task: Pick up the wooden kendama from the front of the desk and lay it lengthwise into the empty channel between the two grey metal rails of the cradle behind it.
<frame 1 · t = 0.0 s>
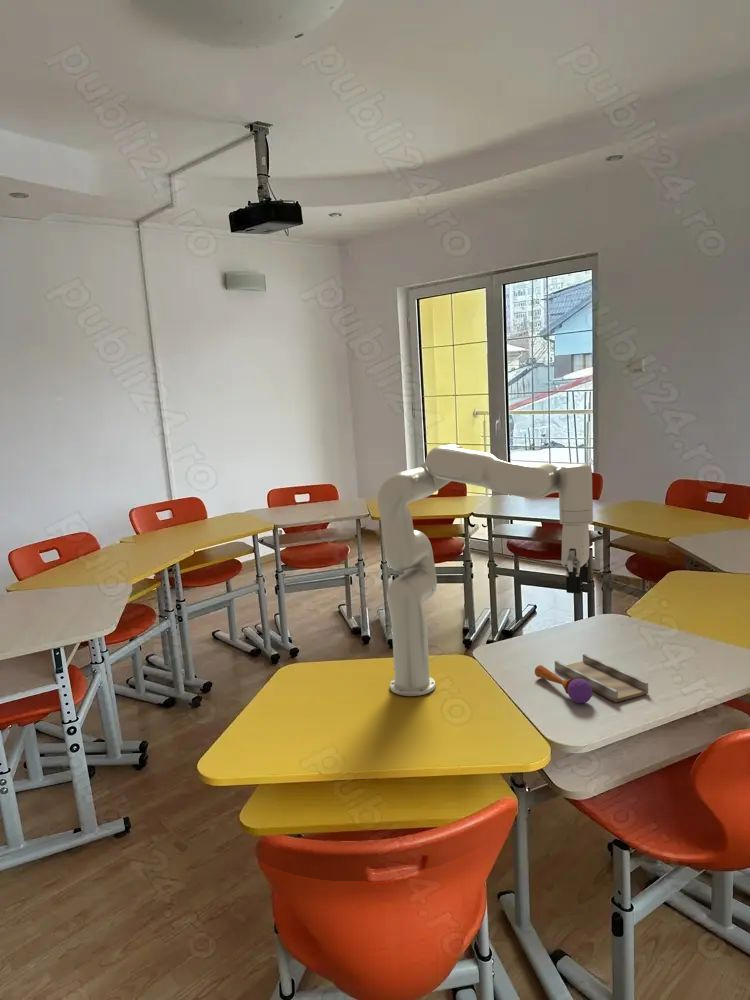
hand: (577, 587, 159), 31 cm above the table, tool pointing down, fingers open, 9 cm apart
kendama: (562, 691, 175), on the table
rail cradle: (599, 681, 179), on the table
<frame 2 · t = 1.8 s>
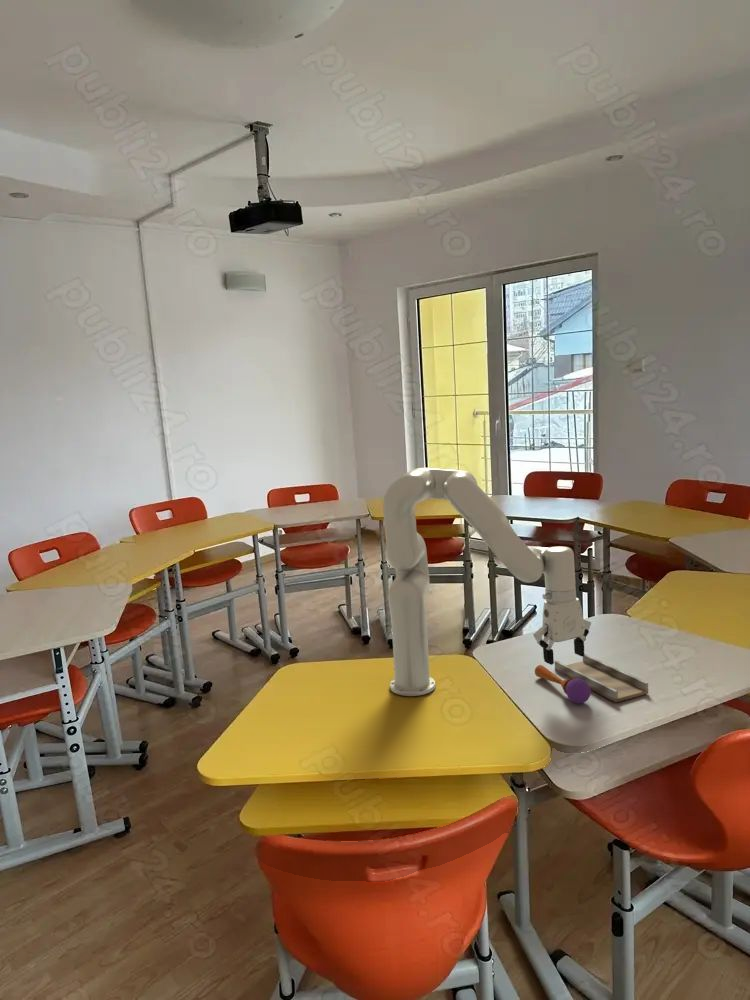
hand: (564, 658, 173), 9 cm above the table, tool pointing down, fingers open, 9 cm apart
nothing on the table moved.
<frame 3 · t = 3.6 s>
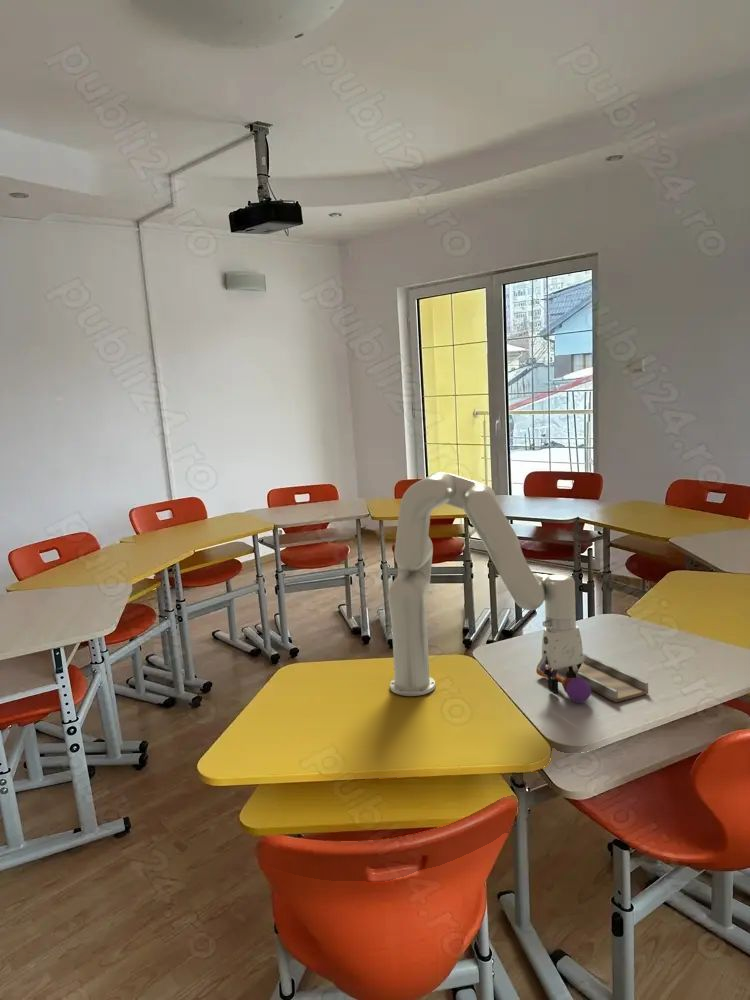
hand: (562, 689, 175), 1 cm above the table, tool pointing down, fingers closed on kendama, 5 cm apart
kendama: (562, 690, 175), on the table, touching gripper
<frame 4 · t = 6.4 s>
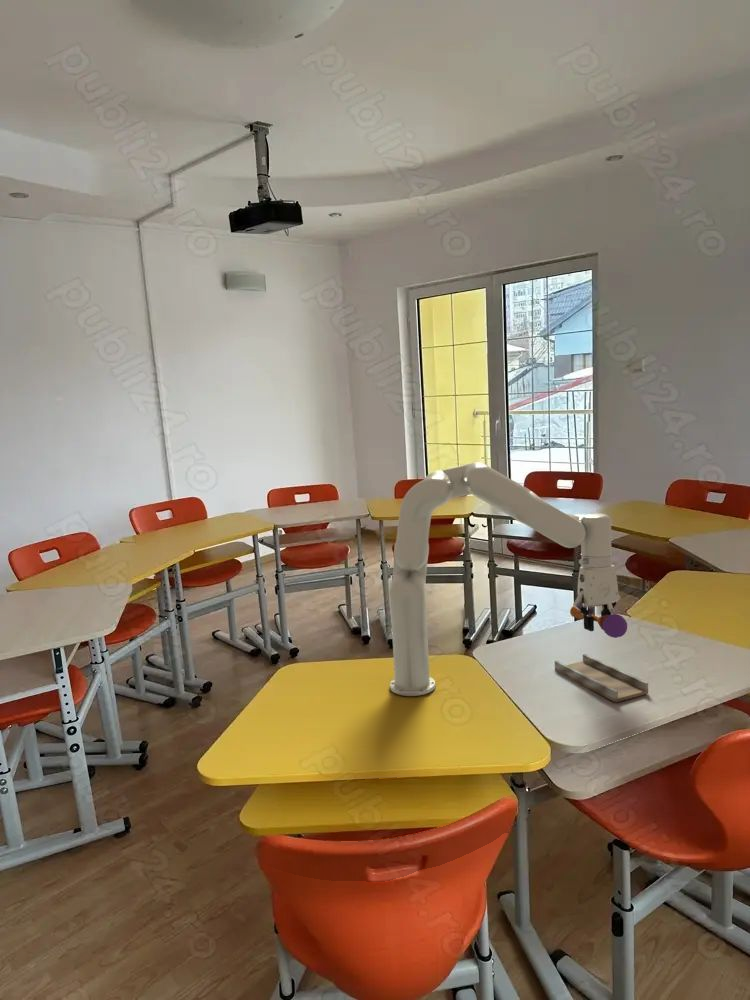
hand: (597, 627, 177), 15 cm above the table, tool pointing down, fingers closed on kendama, 5 cm apart
kendama: (597, 628, 178), point 15 cm above the table, touching gripper
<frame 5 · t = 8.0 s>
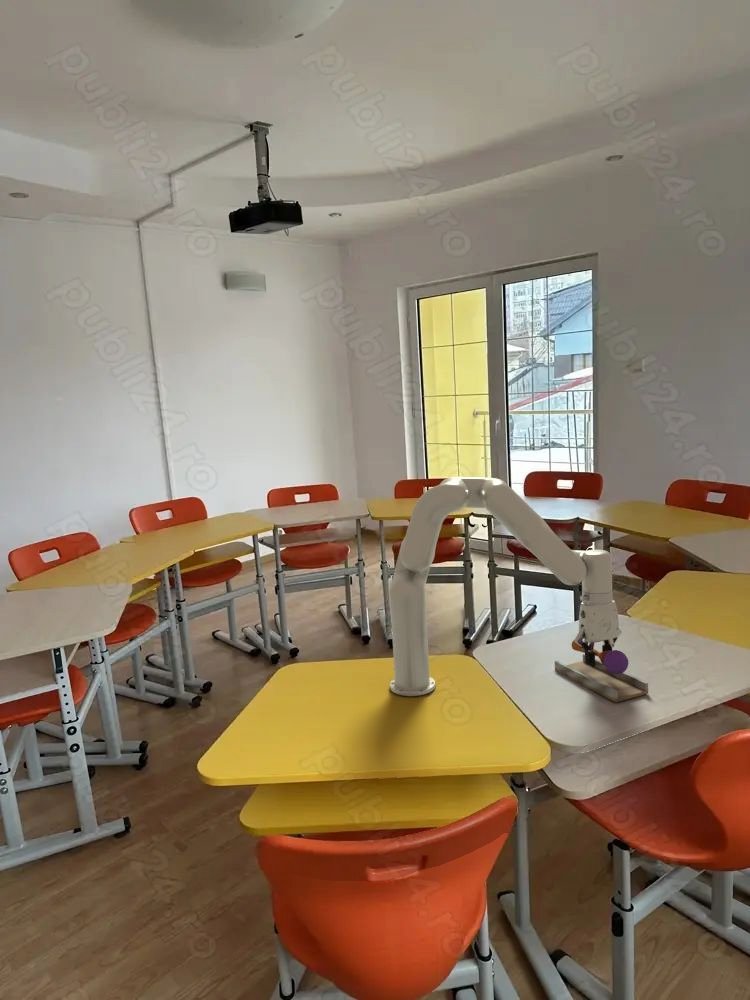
hand: (598, 662, 178), 5 cm above the table, tool pointing down, fingers closed on kendama, 5 cm apart
kendama: (598, 663, 179), point 5 cm above the table, touching gripper
when the fingers open (3 cm above the table, at t = 9.4 s): kendama drops 1 cm, resting on rail cradle.
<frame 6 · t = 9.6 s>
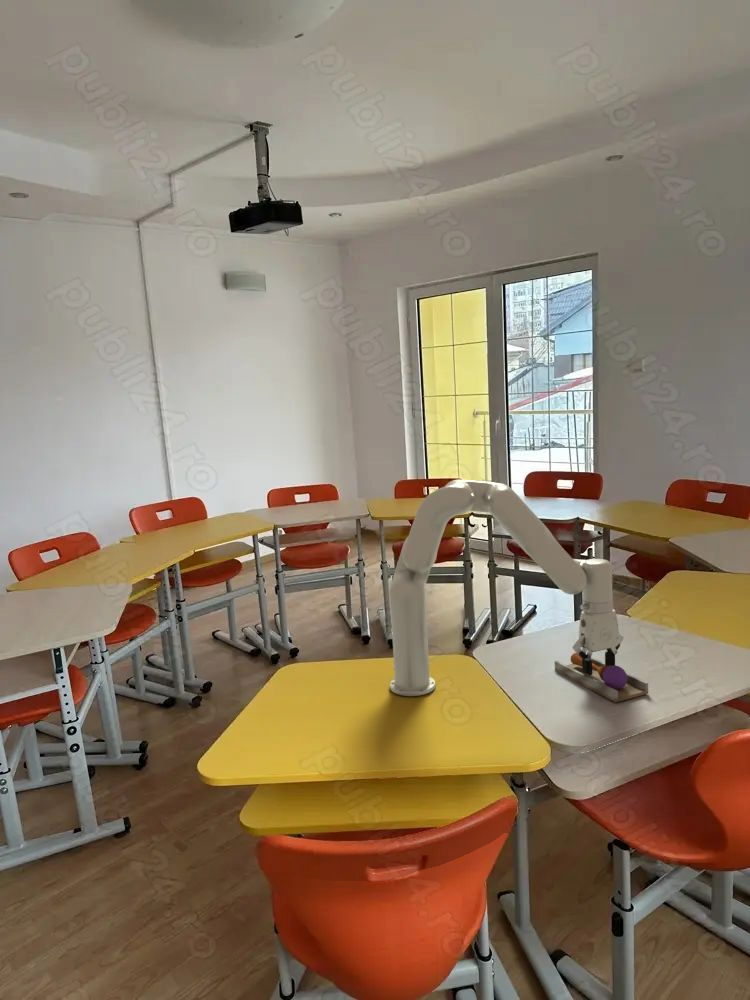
hand: (598, 670, 179), 3 cm above the table, tool pointing down, fingers open, 7 cm apart
kendama: (597, 678, 179), point 1 cm above the table, touching rail cradle
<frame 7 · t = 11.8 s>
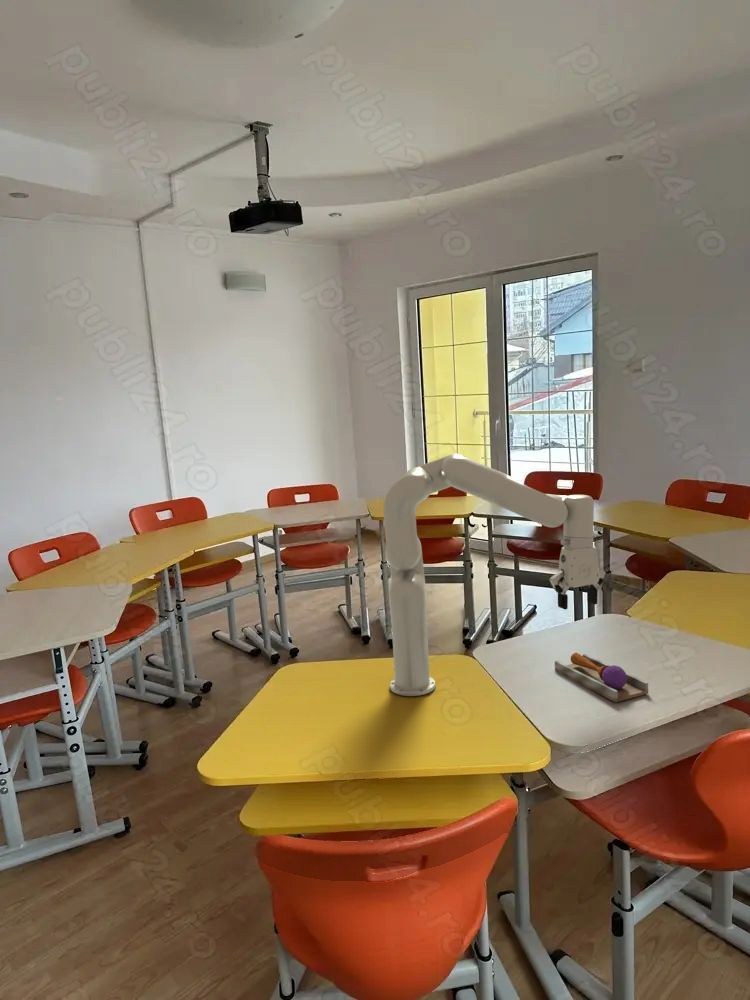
hand: (577, 605, 177), 21 cm above the table, tool pointing down, fingers open, 9 cm apart
nothing on the table moved.
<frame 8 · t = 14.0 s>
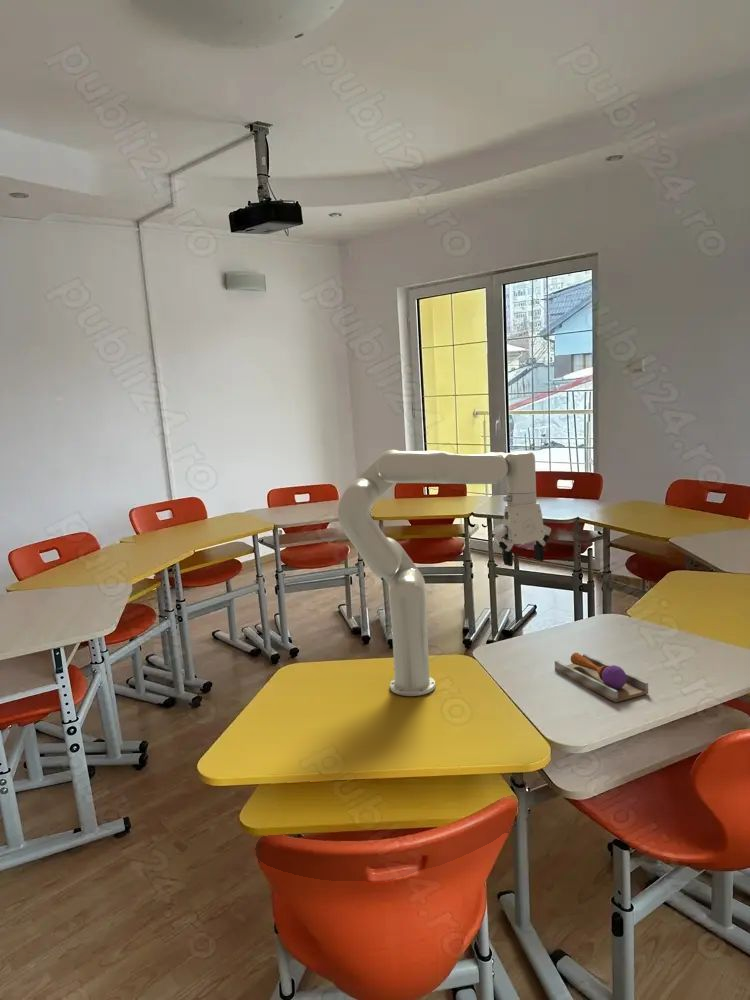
hand: (523, 562, 177), 33 cm above the table, tool pointing down, fingers open, 9 cm apart
nothing on the table moved.
at the end: kendama inside the target area on the rail cradle (0.4 cm from its centre), point 0.8 cm above the rail cradle's base; kendama touching rail cradle; the gripper is holding nothing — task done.
